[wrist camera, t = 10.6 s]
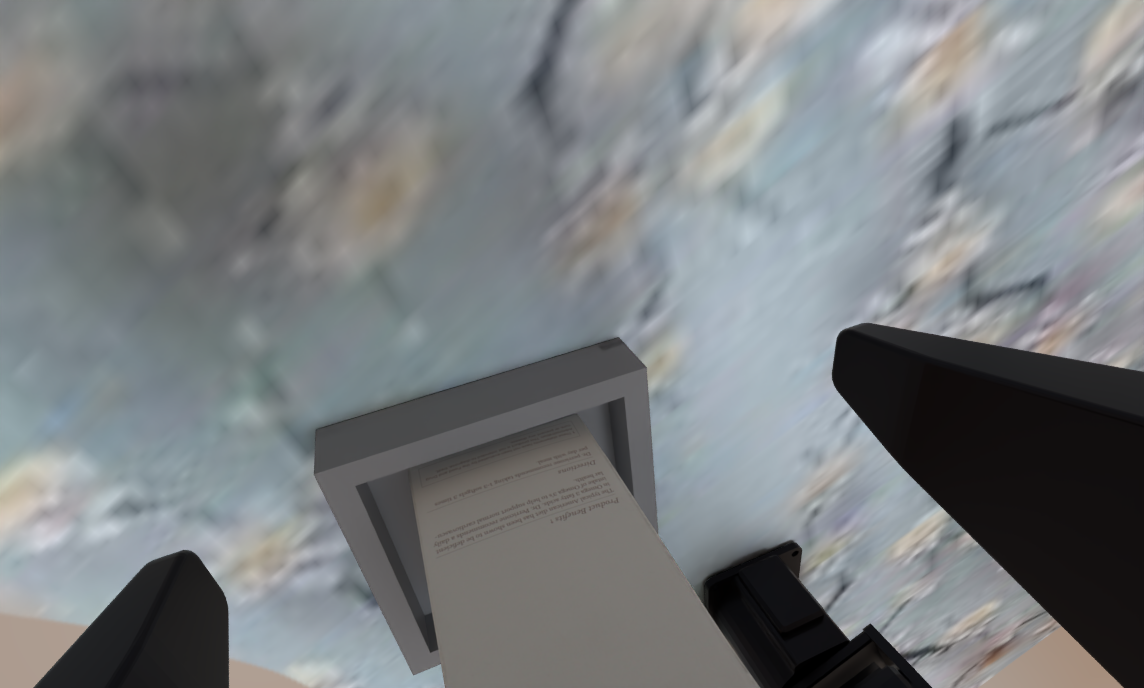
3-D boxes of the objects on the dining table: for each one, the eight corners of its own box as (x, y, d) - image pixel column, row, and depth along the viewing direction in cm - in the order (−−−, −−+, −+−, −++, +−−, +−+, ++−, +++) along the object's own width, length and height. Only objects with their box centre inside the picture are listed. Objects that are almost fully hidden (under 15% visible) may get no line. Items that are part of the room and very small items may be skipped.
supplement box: (443, 585, 26) (517, 965, 15) (403, 461, 22) (466, 853, 11) (595, 530, 28) (755, 836, 17) (583, 407, 24) (777, 703, 13)
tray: (638, 534, 30) (661, 572, 28) (407, 625, 27) (413, 675, 25) (619, 337, 23) (646, 367, 21) (315, 430, 21) (313, 474, 19)
